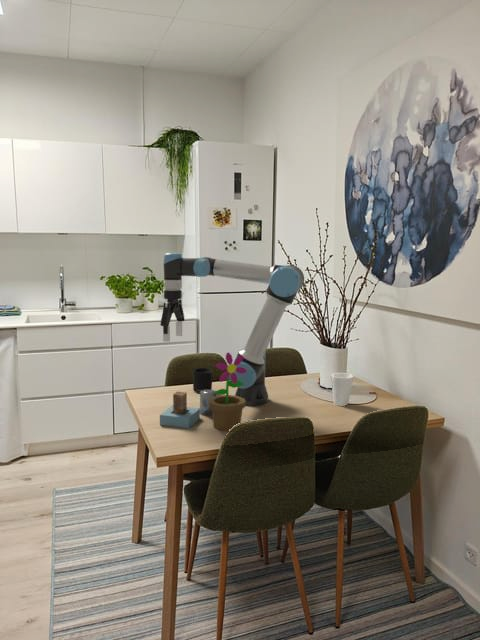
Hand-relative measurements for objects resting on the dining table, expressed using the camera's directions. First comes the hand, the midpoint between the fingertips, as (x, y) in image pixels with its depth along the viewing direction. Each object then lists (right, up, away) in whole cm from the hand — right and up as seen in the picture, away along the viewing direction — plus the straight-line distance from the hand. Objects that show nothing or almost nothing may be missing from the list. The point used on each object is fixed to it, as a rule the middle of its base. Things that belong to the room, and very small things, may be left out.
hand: (173, 338), depth 220 cm
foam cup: (+74, -29, +6) cm, 80 cm away
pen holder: (+11, -26, +23) cm, 36 cm away
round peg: (+16, -31, -8) cm, 35 cm away
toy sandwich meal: (+74, -25, +34) cm, 86 cm away
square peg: (+5, -32, -19) cm, 37 cm away
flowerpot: (+24, -33, -23) cm, 47 cm away
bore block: (+5, -32, -19) cm, 38 cm away
